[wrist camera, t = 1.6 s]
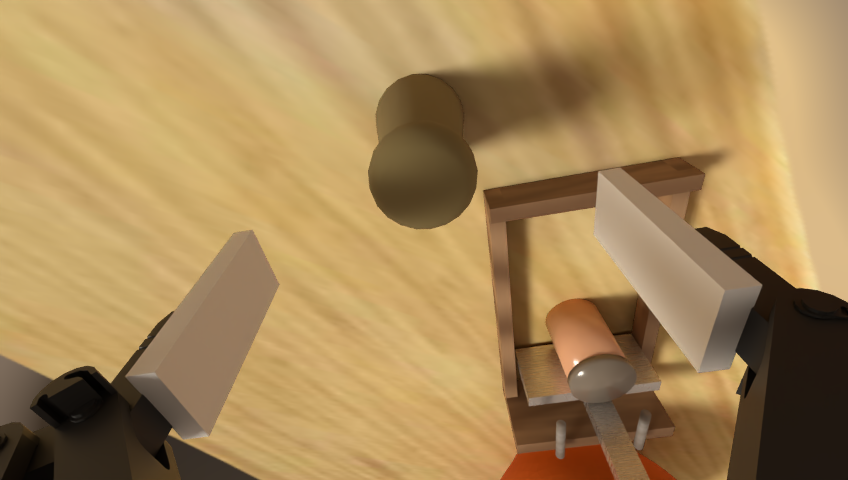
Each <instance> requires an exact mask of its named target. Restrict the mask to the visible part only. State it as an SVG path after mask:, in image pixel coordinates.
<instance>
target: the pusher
mask: <svg viewBox="0 0 848 480" xmlns="http://www.w3.org/2000/svg"><path fill="white" fill-rule="evenodd" d="M614 338H615V340H616V342H617V343H618V345H619V347H620V349H621V350H622V352H623V354H624V355H625V357H626V359H627V360H628V361H629V362H630V363H631V365H632V367H633V368H634V370H635V372H636V375H637V379H636V382H635V384H634V386H633V387H632V388H631V389H630V390H629V391H628V392H627V393H626V394H631V393H639V392H647V391H655V390H659V389H660V385H661V380H660V378H659V377H658V375H657V374H656V372H655V370H654V369H653V367H652V366H651V364H650V363H649V361H648V359H647V358H646V356H645V355H644V353H643V352H642V350H641V348H640V347H639V345H638V344H637V342H636V341H635V339H634V337H633V336H632V334H624V335H616V336H614ZM515 358H516V362H517V365H518V369H519V372H520V376H521V380H522V383H523V387H524V390H525V394H526V397H527V401H528V405H529V406H535V405H543V404H551V403H559V402H567V401H575V400H578V399H576V398H575V397H574V396H573V395H572V393H571V390H570V388H569V385H568V382H567V377H566V375H565V372H564V370H563V367H562V364H561V362H560V359H559V357H558V354H557V352H556V349H555V347H554V344H550V345H543V346H536V347H529V348H521V349H515ZM583 404H584V406H585V408H586V411H587V413H588V416H589V418H590V421H591V423H592V425H593V428H594V430H595V433H596V435H597V437H598V440H599V442H600V445H601V447H602V450H603V452H604V454H605V457H606V459H607V462H608V464H609V467H610V469H611V471H612V474H613V476H614V479H615V480H650V479H649V477H648V474H647V472H646V470H645V468H644V466H643V464H642V462H641V460H640V458H639V456H638V454H637V452H636V450H635V448H634V446H633V443H632V441H631V439H630V437H629V435H628V433H627V431H626V429H625V427H624V425H623V423H622V421H621V419H620V417H619V415H618V413H617V410H616V408H615V406H614V404H613V402H612V400H611V401H607V402H602V403H587V402H583Z"/></svg>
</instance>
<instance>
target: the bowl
mask: <svg viewBox="0 0 848 480" xmlns="http://www.w3.org/2000/svg"><path fill="white" fill-rule="evenodd" d="M555 453H556V449H555V450H547V451H538V452H529V453H521V454H518V453H517V455H516V456H515V458H514V460H513V462H512V463H511V465H510V466H509V468H508V469H507V471H506V472H505V474H504V475H503V476H502V478H501V480H615V479H614V476H613V474H612V471H611V469H610V467H609V464H608V462H607V459H606V457H605V454H604V452H603V450H602V447H601V445H600V444H598V445H590V446H581V447H572V448H565V457H564V458H563V459H559V458H557V457H556V454H555ZM637 454H638V456H639V458H640V460H641V462H642V464H643V466H644V468H645V470H646V472H647V474H648V477H649V479H650V480H676V479H675V478H674V477H673V476H672V475H670V474H669V473H668V472H667V471H665V470H664V469H663V468H661V467H660V466H658V465H657V464H656V463H654V462H652V461H651V460H649V459H648V458H646V457H644V456H643V455H641V454H639V453H637Z"/></svg>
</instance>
